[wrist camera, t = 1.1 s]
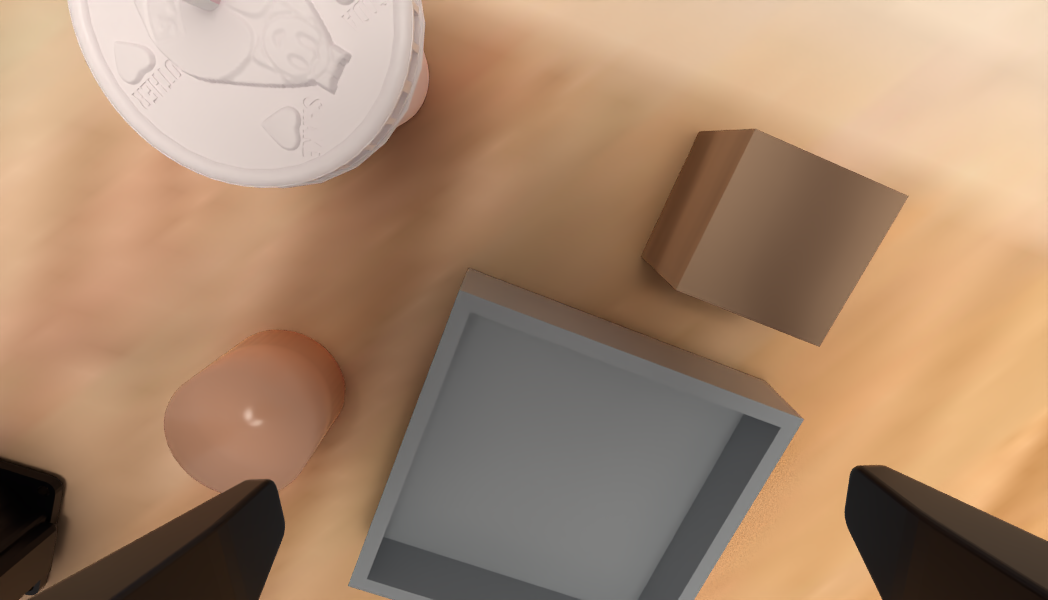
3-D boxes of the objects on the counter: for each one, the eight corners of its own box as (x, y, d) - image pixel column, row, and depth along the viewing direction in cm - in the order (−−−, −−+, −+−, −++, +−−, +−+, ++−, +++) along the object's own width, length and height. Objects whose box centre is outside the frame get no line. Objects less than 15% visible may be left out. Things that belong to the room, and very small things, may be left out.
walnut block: (640, 255, 21) (675, 290, 16) (698, 131, 20) (755, 129, 15) (753, 300, 22) (819, 347, 17) (817, 182, 20) (908, 195, 15)
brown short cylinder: (213, 415, 23) (151, 471, 19) (240, 311, 22) (179, 349, 18) (327, 453, 23) (289, 514, 20) (360, 354, 22) (326, 399, 18)
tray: (369, 529, 24) (347, 586, 21) (468, 267, 21) (459, 289, 18) (632, 613, 26) (646, 676, 23) (765, 381, 22) (803, 419, 19)
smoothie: (331, -69, 18) (-260, -717, 4) (500, 38, 19) (446, -220, 5) (257, 109, 19) (-344, 41, 6) (417, 199, 20) (212, 318, 7)
